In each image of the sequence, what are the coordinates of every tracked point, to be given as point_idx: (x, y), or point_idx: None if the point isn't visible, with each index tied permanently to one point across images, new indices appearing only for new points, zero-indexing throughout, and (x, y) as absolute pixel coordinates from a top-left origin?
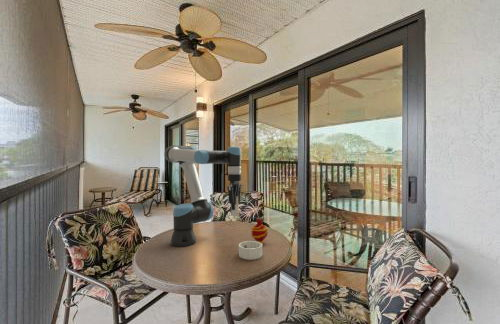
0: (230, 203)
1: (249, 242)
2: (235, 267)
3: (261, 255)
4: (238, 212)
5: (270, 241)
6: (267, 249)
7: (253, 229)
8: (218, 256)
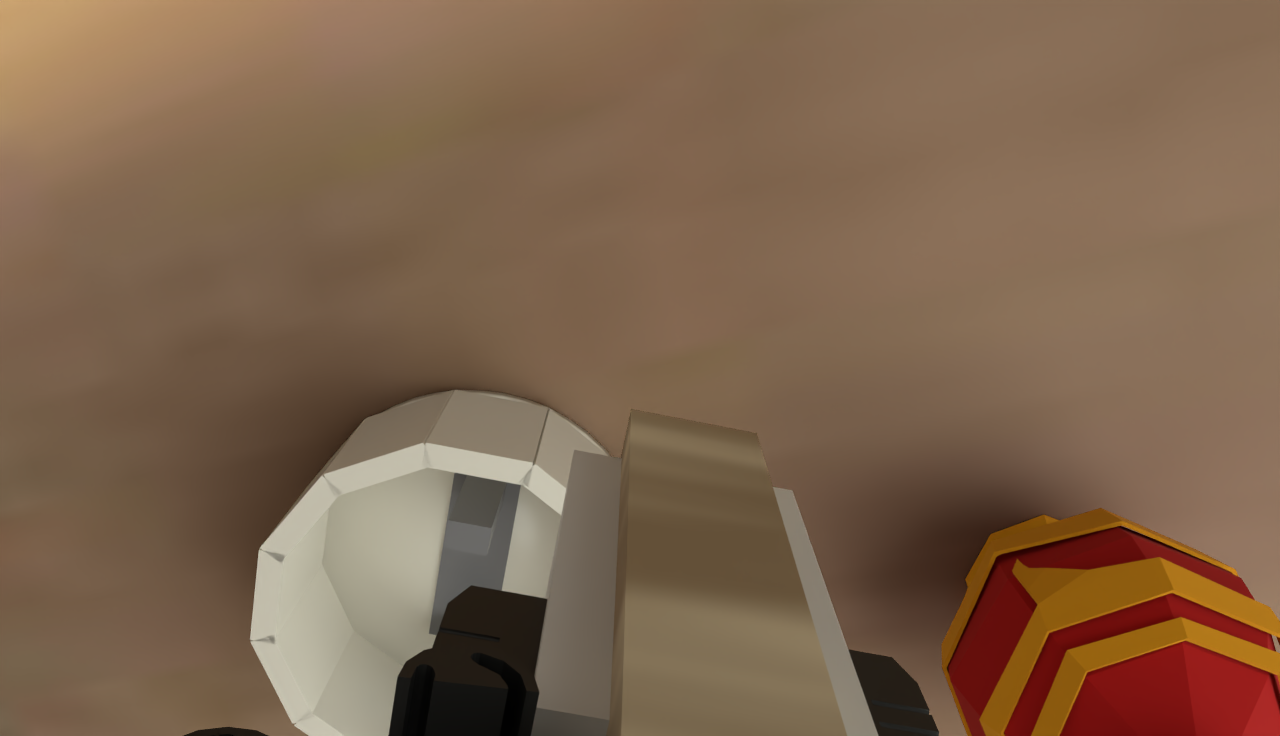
0: (399, 715)
1: None
2: (18, 453)
3: None
4: None
5: None
6: None
7: (1057, 634)
8: (291, 101)
